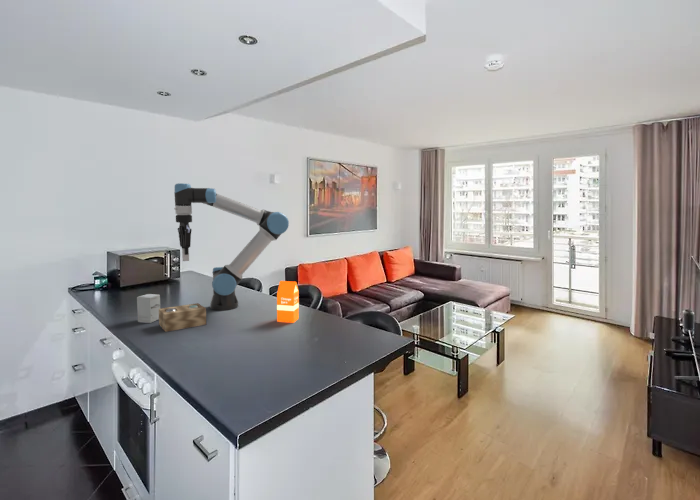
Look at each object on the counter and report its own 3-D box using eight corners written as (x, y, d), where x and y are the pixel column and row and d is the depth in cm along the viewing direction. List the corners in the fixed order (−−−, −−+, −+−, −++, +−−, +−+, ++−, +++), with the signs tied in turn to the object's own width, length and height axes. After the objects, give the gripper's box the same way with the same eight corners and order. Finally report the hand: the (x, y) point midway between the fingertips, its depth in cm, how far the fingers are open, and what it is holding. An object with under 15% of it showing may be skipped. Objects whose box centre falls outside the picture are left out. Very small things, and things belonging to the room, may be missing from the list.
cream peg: (196, 321, 180) (196, 304, 180) (199, 323, 177) (198, 306, 177) (188, 322, 178) (187, 305, 177) (190, 324, 175) (190, 307, 174)
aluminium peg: (175, 324, 174) (174, 307, 173) (177, 326, 171) (176, 309, 170) (165, 326, 172) (165, 309, 171) (168, 328, 169) (167, 310, 168)
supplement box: (150, 323, 176) (149, 297, 175) (137, 322, 178) (136, 296, 176) (161, 319, 183) (160, 294, 182) (148, 318, 185) (147, 293, 184)
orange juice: (293, 323, 180) (293, 283, 178) (276, 321, 182) (276, 282, 180) (298, 318, 188) (298, 280, 186) (282, 317, 189) (282, 279, 187)
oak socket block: (198, 318, 185) (197, 303, 184) (206, 324, 176) (205, 308, 175) (159, 325, 173) (158, 308, 173) (165, 331, 164) (164, 314, 163)
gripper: (171, 214, 186) (173, 260, 189) (180, 214, 177) (182, 262, 180) (186, 214, 192) (188, 259, 194) (196, 214, 182) (198, 261, 185)
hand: (185, 260), depth 187 cm, fingers closed
